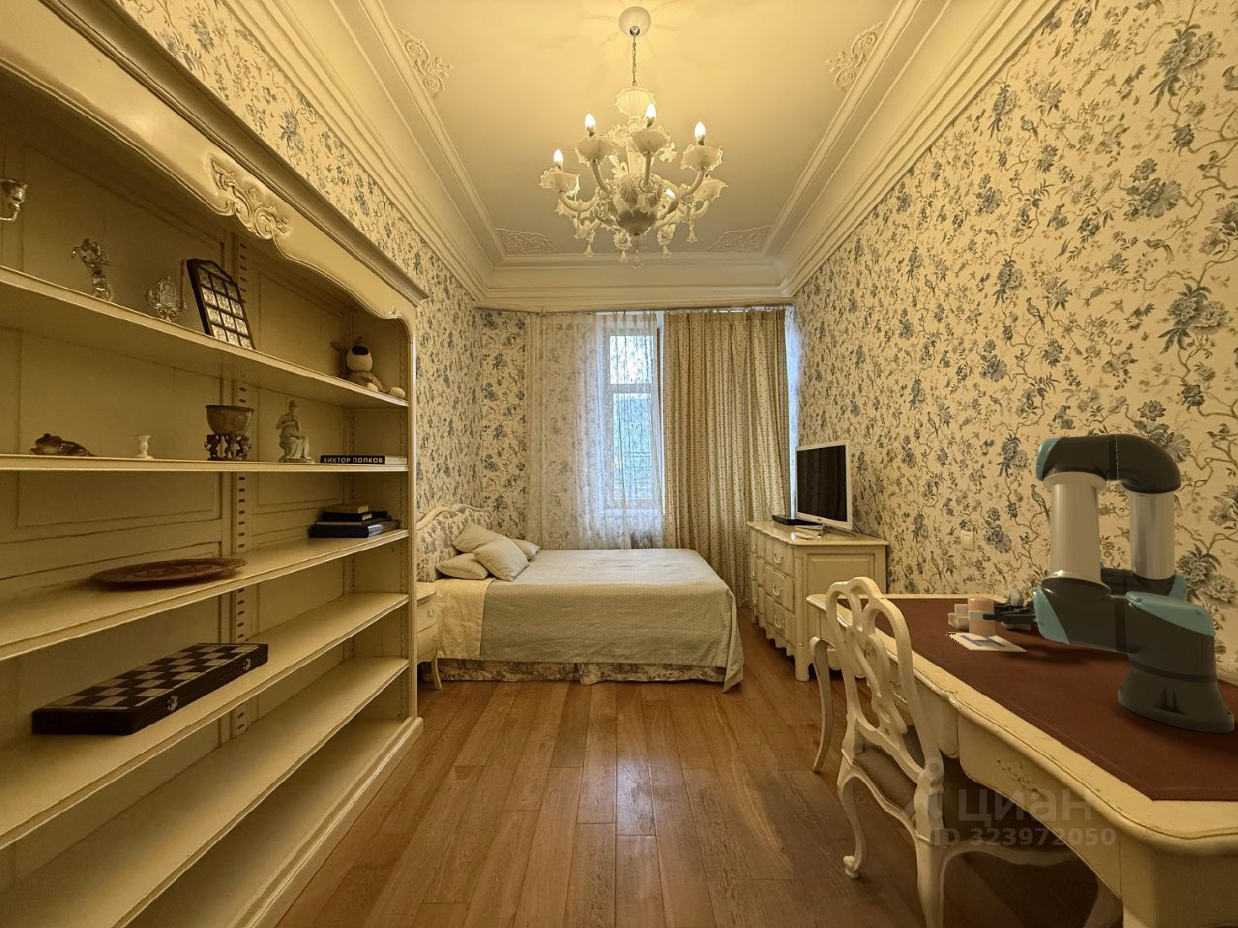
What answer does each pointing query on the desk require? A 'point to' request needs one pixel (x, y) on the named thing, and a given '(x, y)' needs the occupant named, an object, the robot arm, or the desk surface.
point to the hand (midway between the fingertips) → (962, 612)
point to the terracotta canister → (981, 626)
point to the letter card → (985, 643)
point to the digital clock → (1014, 599)
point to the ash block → (958, 620)
